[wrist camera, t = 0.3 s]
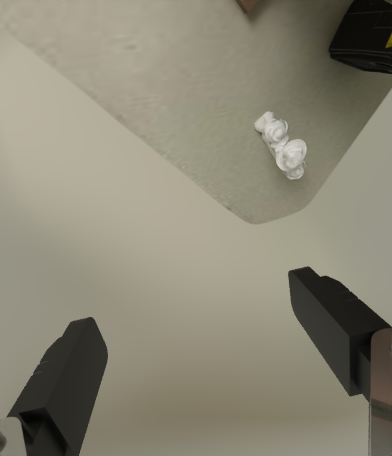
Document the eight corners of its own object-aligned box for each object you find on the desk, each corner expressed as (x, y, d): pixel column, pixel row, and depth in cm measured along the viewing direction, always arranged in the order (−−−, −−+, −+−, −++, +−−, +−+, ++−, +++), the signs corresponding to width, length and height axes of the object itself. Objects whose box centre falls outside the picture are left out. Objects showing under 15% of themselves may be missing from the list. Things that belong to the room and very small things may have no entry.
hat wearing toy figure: (239, 113, 36) (269, 145, 27) (263, 95, 35) (303, 121, 26) (266, 159, 41) (298, 199, 32) (288, 144, 40) (327, 181, 31)
